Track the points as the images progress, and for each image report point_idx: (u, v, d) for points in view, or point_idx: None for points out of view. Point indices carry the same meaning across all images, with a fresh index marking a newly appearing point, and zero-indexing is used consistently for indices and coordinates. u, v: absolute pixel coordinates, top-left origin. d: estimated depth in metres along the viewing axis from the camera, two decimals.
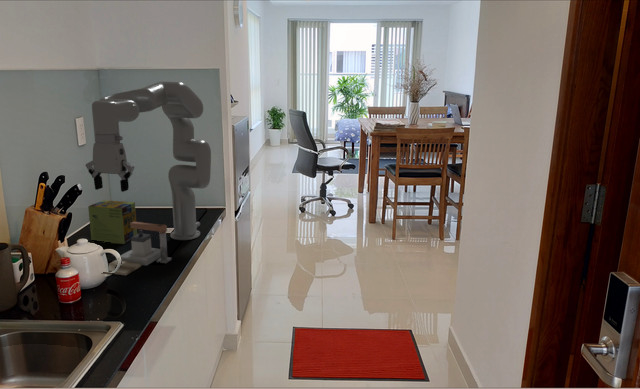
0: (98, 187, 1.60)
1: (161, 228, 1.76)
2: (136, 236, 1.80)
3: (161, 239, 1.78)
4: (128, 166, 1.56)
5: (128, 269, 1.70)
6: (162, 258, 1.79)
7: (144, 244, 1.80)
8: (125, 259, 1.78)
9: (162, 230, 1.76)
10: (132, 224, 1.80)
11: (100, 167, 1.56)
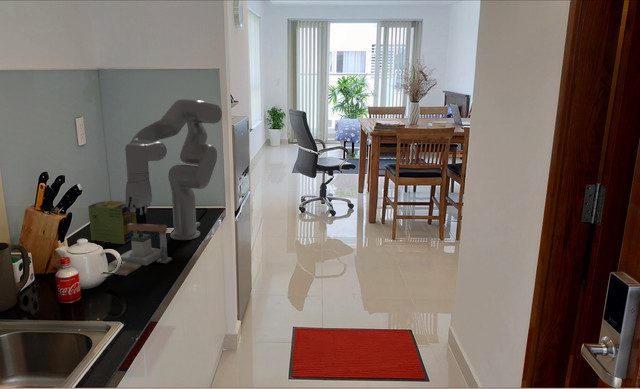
0: None
1: (162, 228, 1.76)
2: (136, 236, 1.80)
3: (161, 239, 1.78)
4: None
5: (128, 269, 1.70)
6: (162, 258, 1.79)
7: (144, 244, 1.80)
8: (125, 259, 1.78)
9: (163, 230, 1.76)
10: (129, 226, 1.78)
11: (141, 202, 1.76)
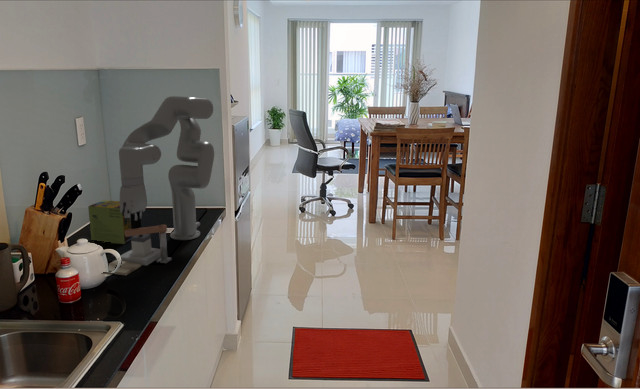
0: None
1: (164, 228, 1.77)
2: (136, 236, 1.80)
3: (161, 239, 1.78)
4: None
5: (128, 269, 1.70)
6: (162, 258, 1.79)
7: (144, 244, 1.80)
8: (125, 259, 1.78)
9: (165, 229, 1.77)
10: (128, 232, 1.71)
11: (136, 207, 1.71)
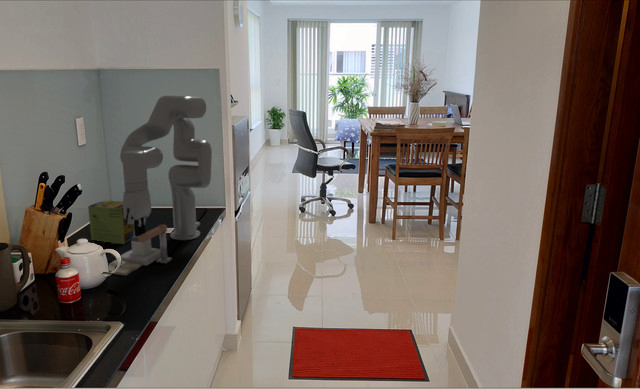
0: None
1: (166, 227, 1.78)
2: (136, 236, 1.80)
3: (161, 239, 1.78)
4: None
5: (128, 269, 1.70)
6: (162, 258, 1.79)
7: (144, 244, 1.80)
8: (125, 259, 1.78)
9: (166, 228, 1.78)
10: (144, 237, 1.66)
11: (140, 213, 1.65)
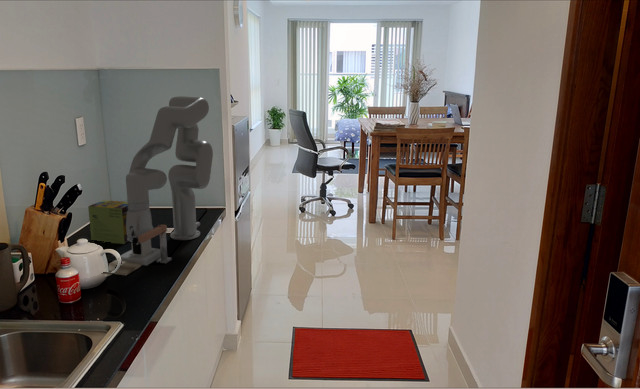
0: None
1: (166, 227, 1.78)
2: None
3: (161, 239, 1.78)
4: (151, 226, 1.86)
5: (128, 269, 1.70)
6: (162, 258, 1.79)
7: (144, 244, 1.80)
8: (125, 259, 1.78)
9: (166, 228, 1.78)
10: (144, 237, 1.66)
11: (142, 230, 1.78)
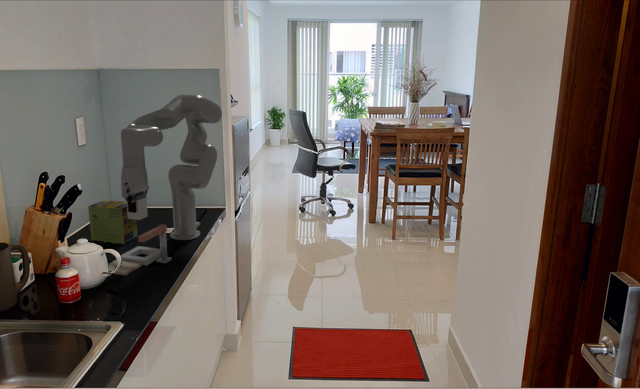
0: None
1: (166, 227, 1.78)
2: None
3: (161, 239, 1.78)
4: None
5: (128, 269, 1.70)
6: (162, 258, 1.79)
7: (140, 202, 1.75)
8: (125, 259, 1.78)
9: (166, 228, 1.78)
10: (144, 237, 1.66)
11: (137, 188, 1.73)
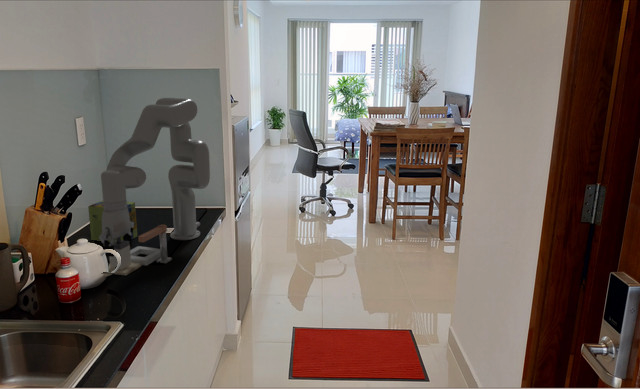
0: None
1: (166, 227, 1.78)
2: (114, 243, 1.70)
3: (161, 239, 1.78)
4: (131, 222, 1.76)
5: (128, 269, 1.70)
6: (162, 258, 1.79)
7: (123, 251, 1.69)
8: None
9: (166, 228, 1.78)
10: (144, 237, 1.66)
11: (119, 232, 1.67)
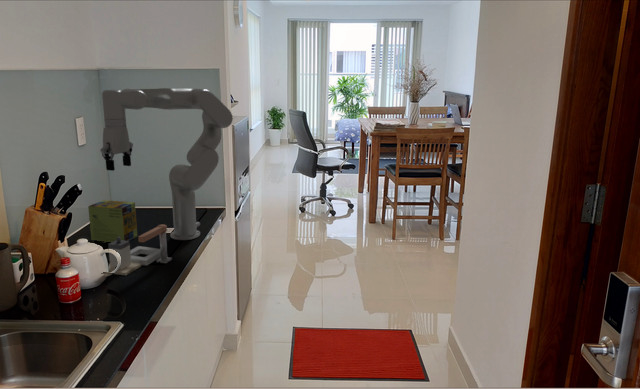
0: None
1: (166, 227, 1.78)
2: (114, 243, 1.70)
3: (161, 239, 1.78)
4: (130, 143, 1.88)
5: (128, 269, 1.70)
6: (162, 258, 1.79)
7: (123, 251, 1.69)
8: None
9: (166, 228, 1.78)
10: (144, 237, 1.66)
11: (119, 148, 1.79)
